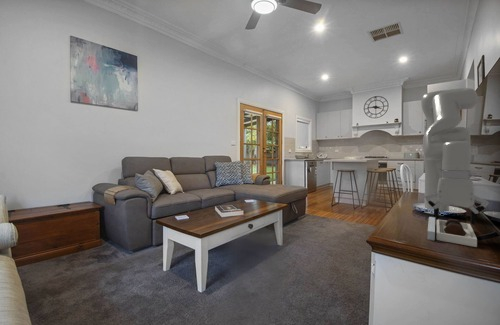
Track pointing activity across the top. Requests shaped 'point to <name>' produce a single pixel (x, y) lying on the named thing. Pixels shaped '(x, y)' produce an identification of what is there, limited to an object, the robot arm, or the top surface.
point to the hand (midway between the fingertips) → (454, 221)
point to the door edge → (431, 228)
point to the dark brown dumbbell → (454, 228)
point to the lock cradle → (464, 240)
